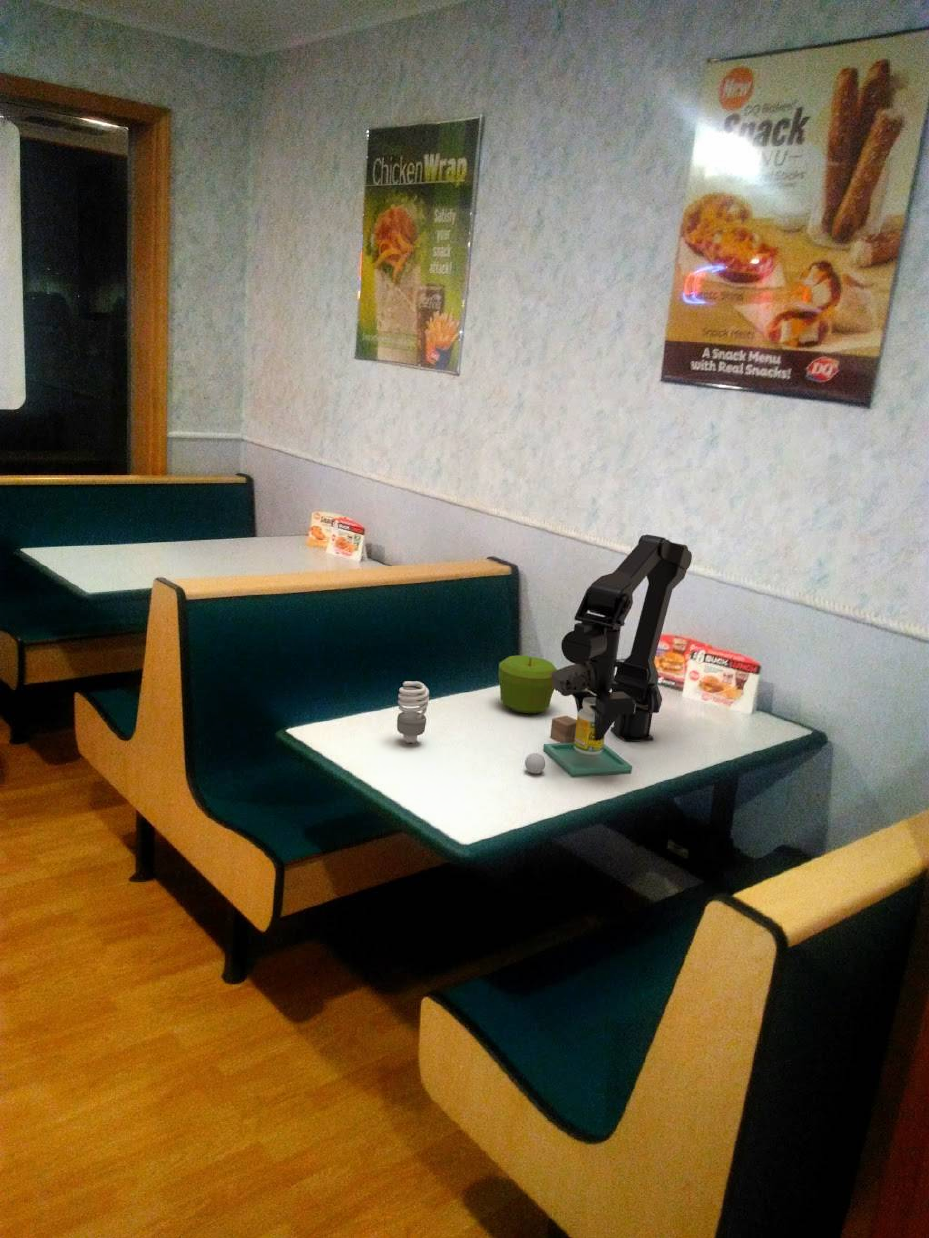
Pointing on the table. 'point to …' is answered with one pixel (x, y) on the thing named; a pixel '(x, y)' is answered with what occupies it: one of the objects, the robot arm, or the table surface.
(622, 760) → the tray
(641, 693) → the robot arm
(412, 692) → the light bulb
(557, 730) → the walnut cube
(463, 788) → the table surface
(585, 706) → the supplement bottle
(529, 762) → the grey ball
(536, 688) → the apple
